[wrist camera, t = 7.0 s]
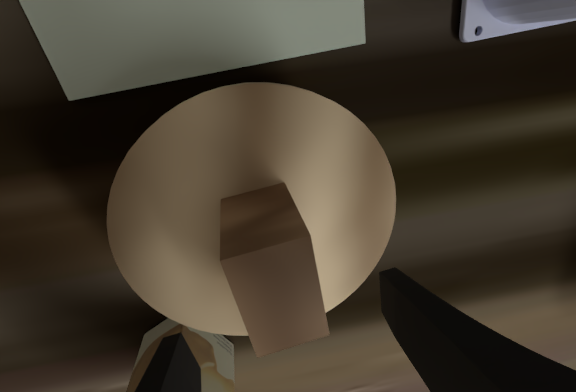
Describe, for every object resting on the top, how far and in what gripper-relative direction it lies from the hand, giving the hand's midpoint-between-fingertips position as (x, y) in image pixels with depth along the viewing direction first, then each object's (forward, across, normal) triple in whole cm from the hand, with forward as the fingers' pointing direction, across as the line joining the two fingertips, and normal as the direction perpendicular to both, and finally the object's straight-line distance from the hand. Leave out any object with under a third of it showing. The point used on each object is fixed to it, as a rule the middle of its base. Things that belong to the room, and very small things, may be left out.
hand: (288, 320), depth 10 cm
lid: (+6, 0, -1) cm, 6 cm away
